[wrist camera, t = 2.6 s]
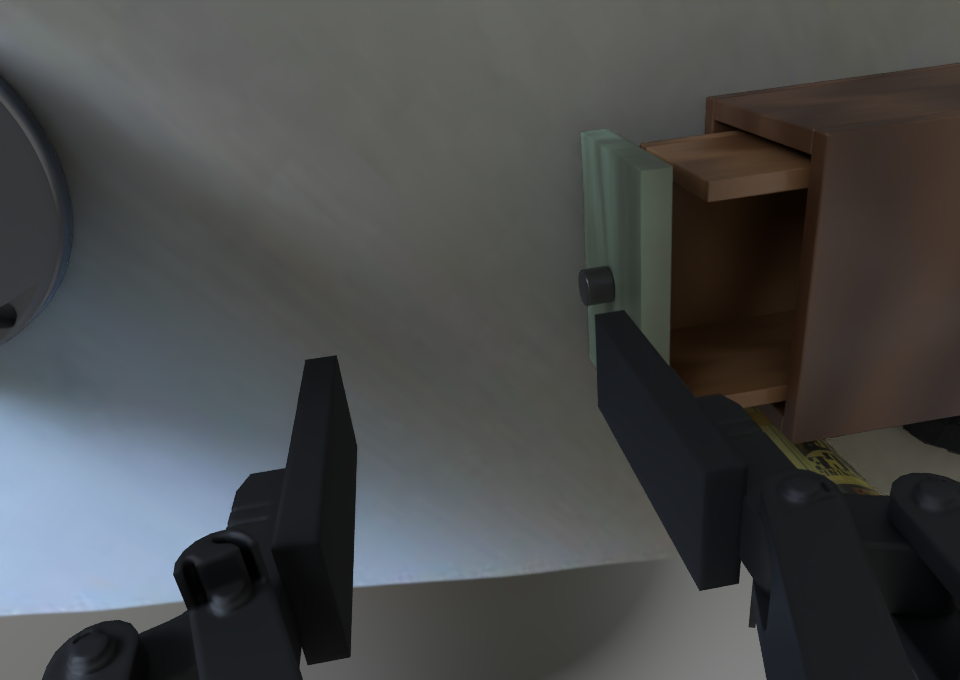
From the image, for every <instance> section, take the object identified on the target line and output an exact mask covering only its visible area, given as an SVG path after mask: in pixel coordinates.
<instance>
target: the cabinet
mask: <svg viewBox="0 0 960 680" xmlns="http://www.w3.org/2000/svg"><path fill="white" fill-rule="evenodd" d="M735 130H744V131H747V132H750V133H753V134H755V135H758V136H761V137H764V138H766V139H769V140H772V141H775V142H778V143H780V144H783V145H786V146H789V147H791V148H794V149H797V150H800V151H802V152H805V153H808V154H811V155H812V156H811V165H810V175H809V184H808V194H807V203H806V213H805V222H804V232H803V241H802V251H801V260H800V270H799V279H798V289H797V298H796V308H795V317H794V327H793V336H792V345H791V355H790V364H789V374H788V383H787V393H786V401H781V402H775V403H769V404H764V405H758V406H757V407H758V408H759V409H760V410H761V411H762V413H763V414H764V415H765V416H766V417H767V418H768V419H769V420H770V421H771V422H772V423H773V424H774V425H775V426H776V428H777V429H778V430H779V431H780V432H781V433H783V435H784V436H785V437H786V438H787V439H788V440H789V441H790V442H791V443H792V444H798V443H803V442H809V441H815V440H821V439H826V438H832V437H838V436H843V435H849V434H855V433H861V432H866V431H872V430H878V429H883V428H889V427H895V426H901V425H906V424H912V423H918V422H923V421H929V420H935V419H941V418H946V417H952V416H958V415H960V63H956V64H948V65H941V66H934V67H926V68H919V69H911V70H904V71H896V72H889V73H882V74H874V75H867V76H859V77H852V78H845V79H837V80H830V81H822V82H815V83H807V84H800V85H793V86H785V87H778V88H770V89H763V90H755V91H748V92H741V93H733V94H726V95H718V96H711V97H707V98H706V119H705V135H706V134H714V133H721V132H728V131H735Z"/></svg>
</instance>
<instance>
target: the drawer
mask: <svg viewBox="0 0 960 680" xmlns="http://www.w3.org/2000/svg"><path fill="white" fill-rule="evenodd" d="M581 152H582V176H583V201H584V226H585V250H586V269H582V270H580V272H579V290H580V295H581V298H582V301H583V303H584V305H585V306H588V324H589V349H590V360H591V361H592V363H593V365H594V366H595V368H596V370H597V363H596V335H595V314H601V313H607V312H614V311H620V310H625V312H626V313H627V314H628V315H629V317H630V318H631V319H632V320H633V322H634V323H635V324H636V325H637V327H638V328H639V329H640V330H641V332H642V333H643V334H644V335H645V337H646V338H647V339H648V340H649V342H650V343H651V344H652V345H653V346H654V348H655V349H656V350H657V351H658V353H659V354H660V355H661V356H662V358H663V359H664V360H665V361H666V363H667V364H668V365H669V366H670V368H671V369H672V370H673V371H674V373H675V374H676V375H677V376H678V378H679V379H680V380H681V381H682V383H683V384H684V385H685V386H686V388H687V389H688V390H689V391H690V393H691V394H692V395H693V396H694V398H695V397H701V396H707V395H713V394H719V393H720V394H721V395H723V396H725V397H727V398H729V399H731V400H733V401H735V402H736V403H738V404H740V405H741V406H742V407H743V408H746V407H752V406H758V405H764V404H769V403H775V402H781V401H786V393H787V383H788V374H789V364H790V355H791V345H792V336H793V327H794V317H795V308H796V298H797V289H798V279H799V270H800V260H801V251H802V241H803V232H804V222H805V213H806V203H807V194H808V184H809V175H810V165H811V156H812V155H811V154H808V153H805V152H802V151H800V150H797V149H794V148H791V147H789V146H786V145H783V144H780V143H778V142H775V141H772V140H769V139H766V138H764V137H761V136H758V135H755V134H753V133H750V132H747V131H744V130H735V131H728V132H721V133H714V134H706V135H699V136H692V137H685V138H678V139H670V140H663V141H656V142H649V143H642V144H640V147H638V146H636V145H634V144H633V143H631V142H629V141H627V140H626V139H624V138H622V137H620V136H619V135H617V134H615V133H613V132H611V131H610V130H608V129H606V128H605V129H598V130H590V131H583V132H581Z"/></svg>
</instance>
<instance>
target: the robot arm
mask: <svg viewBox="0 0 960 680" xmlns="http://www.w3.org/2000/svg"><path fill="white" fill-rule="evenodd" d="M72 237H73V218H72V208H71V201H70V196H69V192H68V187H67V184H66V180H65V177H64V174H63V171H62V168H61V166H60V163H59V161H58V158H57V156H56V154H55V151H54V149H53V148H52V146H51V144H50V142H49V140H48V138H47V136H46V134H45V133H44V131H43V130H42V128H41V126H40V125H39V123H38V122H37V120H36V119H35V117H34V116H33V114H32V113H31V112H30V110H29V109H28V108H27V107H26V105H25V104H24V103H23V101H22V100H21V99H20V98H19V96H18V95H17V94H16V93H15V92H14V91H13V90H12V89H11V88H10V86H9V85H8V84H7V83H6V82H5V81H4V80H3V79H2V78H1V77H0V346H1V345H3V344H4V343H6V342H7V341H9V340H10V339H12V338H13V337H14V336H15V335H16V334H17V333H19V332H20V331H21V330H22V329H23V328H24V327H25V326H26V325H27V324H29V323H30V322H31V321H32V320H33V319H34V318H35V317H36V316H37V315H38V314H39V313H40V312H41V310H42V309H43V308H44V307H45V306H46V305H47V304H48V302H49V301H50V299H51V298H52V297H53V295H54V294H55V292H56V290H57V288H58V286H59V285H60V283H61V281H62V278H63V276H64V273H65V271H66V268H67V265H68V261H69V257H70V253H71V245H72ZM595 335H596V363H597V390H598V407H599V409H600V411H601V413H602V414H603V416H604V418H605V420H606V422H607V424H608V425H609V427H610V429H611V431H612V433H613V434H614V436H615V438H616V440H617V442H618V444H619V445H620V447H621V449H622V451H623V453H624V454H625V456H626V458H627V460H628V462H629V464H630V465H631V467H632V469H633V471H634V473H635V474H636V476H637V478H638V480H639V482H640V483H641V485H642V487H643V489H644V491H645V493H646V494H647V496H648V498H649V500H650V502H651V503H652V505H653V507H654V509H655V511H656V513H657V514H658V516H659V518H660V520H661V522H662V523H663V525H664V527H665V529H666V531H667V533H668V534H669V536H670V538H671V540H672V542H673V543H674V545H675V547H676V549H677V551H678V552H679V554H680V556H681V558H682V560H683V561H684V563H685V565H686V567H687V569H688V571H689V572H690V574H691V576H692V578H693V580H694V581H695V583H696V585H697V587H698V589H699V590H700V591H702V590H707V589H712V588H718V587H723V586H728V585H733V584H738V583H739V576H740V564H741V561H742V562H743V564H744V565H745V567H746V568H747V570H748V571H749V573H750V574H751V576H752V577H753V585H752V596H751V607H750V619H749V627H753V628H755V624H756V625H757V630H758V635H759V641H760V646H761V651H762V657H763V662H764V667H765V673H766V678H767V680H916V678H915V676H914V673H913V671H914V672H915V673H916V675H917V676H918V678H919V679H920V680H960V482H957V481H955V480H952V479H950V478H948V477H945V476H940V475H935V474H930V473H911V474H907V475H903V476H900V477H899V478H897V479H896V480H895V481H894V482H893V483H892V488H891V493H890V496H883V495H863V494H850V493H842V492H841V490H840V489H839V487H838V486H837V485H836V483H834V482H833V481H831V480H830V479H828V478H827V477H825V476H824V475H821V474H818V473H816V472H813V471H810V470H804V469H797V467H796V466H795V465H794V464H793V463H792V462H791V461H790V460H789V459H788V457H787V456H786V455H785V454H784V453H783V452H782V451H781V450H780V449H779V447H778V446H777V445H776V444H775V443H774V442H773V441H772V440H771V439H770V437H769V436H768V435H767V434H766V433H765V432H762V429H761V427H760V426H759V425H758V424H757V423H756V422H755V421H752V417H751V416H750V415H749V414H748V413H747V412H746V411H745V410H744V409H743V407H742V406H741V405H740V404H738V403H736V402H735V401H733V400H731V399H729V398H727V397H725V396H723V395H721V394H720V393H719V394H713V395H707V396H701V397H695V398H694V396H693V395H692V394H691V393H690V391H689V390H688V389H687V388H686V386H685V385H684V384H683V383H682V381H681V380H680V379H679V378H678V376H677V375H676V374H675V373H674V371H673V370H672V369H671V368H670V366H669V365H668V364H667V363H666V361H665V360H664V359H663V358H662V356H661V355H660V354H659V353H658V351H657V350H656V349H655V348H654V346H653V345H652V344H651V343H650V342H649V340H648V339H647V338H646V337H645V335H644V334H643V333H642V332H641V330H640V329H639V328H638V327H637V325H636V324H635V323H634V322H633V320H632V319H631V318H630V317H629V315H628V314H627V313H626V312H625V310H620V311H614V312H607V313H601V314H595ZM356 471H357V443H356V439H355V434H354V430H353V426H352V421H351V417H350V412H349V408H348V403H347V399H346V394H345V390H344V386H343V381H342V377H341V372H340V368H339V363H338V359H337V355H334V356H328V357H321V358H315V359H309V360H305V365H304V370H303V376H302V381H301V387H300V392H299V398H298V403H297V409H296V414H295V420H294V425H293V431H292V436H291V442H290V447H289V453H288V458H287V464H286V468H284V469H278V470H272V471H266V472H260V473H254V474H250V476H249V477H248V478H247V479H246V480H245V482H244V483H243V484H242V485H241V486H240V488H239V489H238V490H237V491H236V495H235V498H234V502H233V506H232V512H231V513H230V517H229V520H228V527H227V528H226V530H223V531H219V532H215V533H211V534H209V535H207V536H205V537H203V538H201V539H199V540H197V541H195V542H194V543H193V544H192V545H190V546H189V547H188V548H187V549H186V550H184V551H183V552H182V554H181V555H180V557H179V558H178V560H177V561H176V563H175V567H174V573H173V575H174V578H175V580H176V583H177V585H178V587H179V590H180V592H181V595H182V597H183V600H184V602H185V604H186V607H187V609H188V610H187V611H186V612H184V613H183V614H182V615H180V616H178V617H176V618H174V619H172V620H170V621H168V622H165V623H163V624H161V625H158V626H156V627H154V628H151V629H149V630H147V631H144V632H142V633H140V634H138V632H137V630H136V629H135V628H134V627H133V626H132V625H131V623H128V622H124V621H121V620H114V621H104V622H101V623H98V624H95V625H93V626H90V627H87V628H85V629H84V630H82V631H80V632H79V633H77V634H76V635H74V636H72V637H71V638H69V639H68V640H67V641H66V642H65V643H64V644H63V645H62V646H61V647H60V648H59V649H58V650H57V651H56V652H55V654H54V655H53V657H52V659H51V660H50V662H49V664H48V665H47V667H46V670H45V673H44V675H43V678H42V680H303V678H302V675H301V672H300V669H299V666H300V656H301V647H302V649H303V652H304V655H305V658H306V661H307V664H308V665H312V664H317V663H323V662H328V661H333V660H338V659H343V658H349V657H350V656H351V625H352V595H353V594H352V592H353V564H354V533H355V502H356ZM912 669H913V671H912Z"/></svg>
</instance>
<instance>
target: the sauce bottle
mask: <svg viewBox="0 0 960 680" xmlns="http://www.w3.org/2000/svg"><path fill="white" fill-rule="evenodd" d="M743 409H744V410H745V411H746V412H747V413H748V414H749V415H750V416H751V417H752V421H755V422H756V423H757V424H758V425H759V426H760V427H761V429H762V432H765V433H766V434H767V435H768V436H769V437H770V439H771V440H772V441H773V442H774V443H775V444H776V445H777V446H778V447H779V449H780V450H781V451H782V452H783V453H784V454H785V455H786V456H787V457H788V459H789V460H790V461H791V462H792V463H793V464H794V465H795V466H796V467H797V469H804V470H810V471H813V472H816V473H818V474H821V475H824V476H825V477H827V478H828V479H830V480H831V481H833V482H834V483H836V485H837V486H838V487H839V489H840V490H841V492H842V493H850V494H863V495H880V494H879V493H878V492H877V491H876V490H875V489H874V488H873V487H872V486H871V485H870V484H869V483H868V482H867V481H866V480H865V479H864V478H863V477H862V476H860V475H859V473H858V472H857V471H856V470H855V469H854V468H853V467H852V466H851V465H850V464H848V463H847V462H846V461H845V460H844V459H843V458H842V457H841V456H840V455H839V454H838V453H837V452H836V451H835V450H834V449H833V448H832V447H831V446H830V445H829V444H828V443H827V442H826V441H825V440H824V439H821V440H815V441H809V442H803V443H798V444H792V443H791V442H790V441H789V440H788V439H787V438H786V437H785V436H784V435H783V433H781V432H780V431H779V430H778V429H777V428H776V426H775V425H774V424H773V423H772V422H771V421H770V420H769V419H768V418H767V417H766V416H765V415H764V414H763V413H762V411H761V410H760V409H759V408H758V407H757V406H752V407H746V408H743ZM912 671H913V669H912ZM913 673H914V676H915V678H916V680H920V679H919V678H918V676H917V675H916V673H915V672H914V671H913Z"/></svg>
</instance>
